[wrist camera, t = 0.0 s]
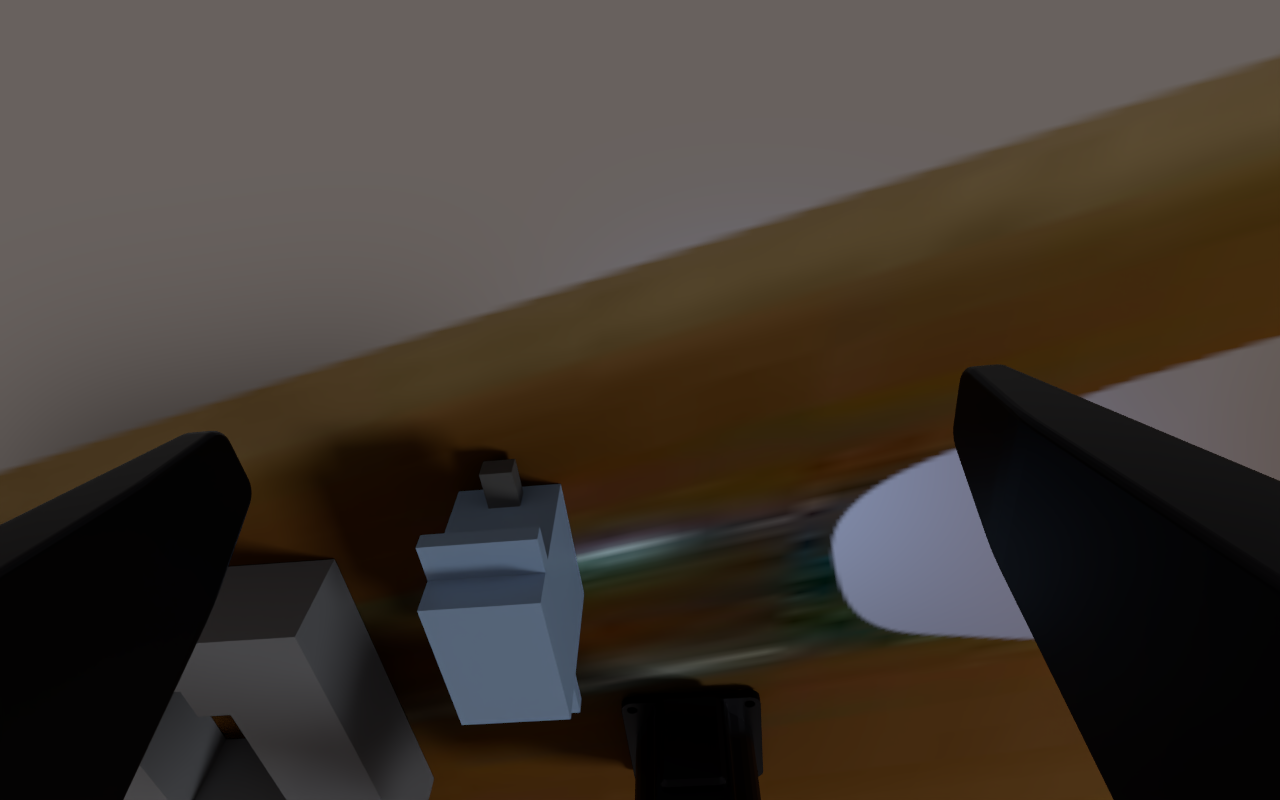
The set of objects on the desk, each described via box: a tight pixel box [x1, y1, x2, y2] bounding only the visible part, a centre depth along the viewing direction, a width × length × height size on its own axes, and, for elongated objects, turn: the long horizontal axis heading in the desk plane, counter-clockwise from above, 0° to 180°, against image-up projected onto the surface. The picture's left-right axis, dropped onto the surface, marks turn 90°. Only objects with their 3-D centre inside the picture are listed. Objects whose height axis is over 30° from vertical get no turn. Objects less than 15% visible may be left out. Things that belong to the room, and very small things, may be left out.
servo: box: [416, 459, 584, 725], centre depth 27 cm, size 9×4×6 cm, turn 6°
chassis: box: [124, 559, 434, 800], centre depth 34 cm, size 16×14×4 cm
